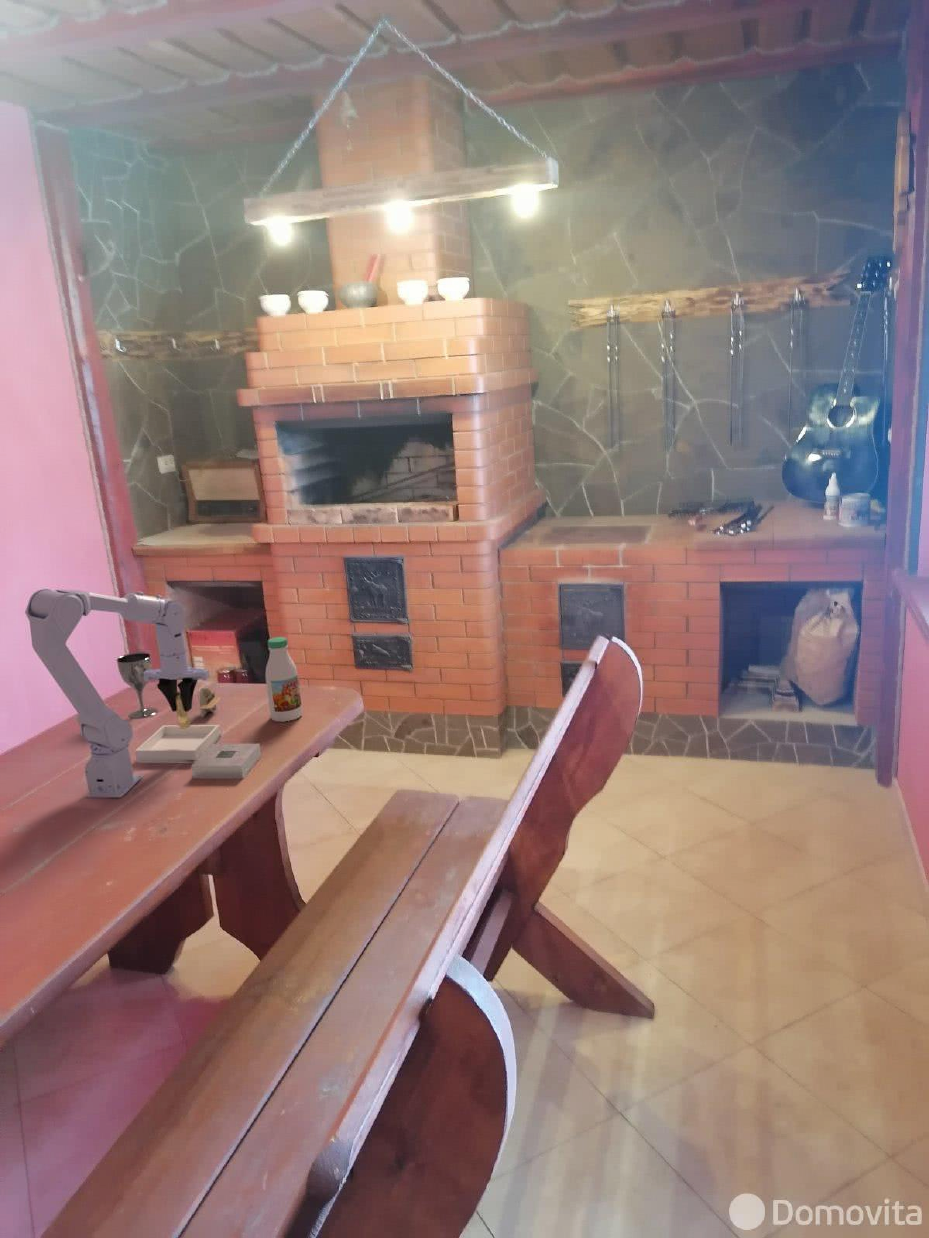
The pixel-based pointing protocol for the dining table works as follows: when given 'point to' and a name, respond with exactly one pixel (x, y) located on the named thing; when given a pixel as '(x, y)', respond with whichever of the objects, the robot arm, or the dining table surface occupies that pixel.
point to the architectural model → (207, 700)
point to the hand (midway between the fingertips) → (182, 709)
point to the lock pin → (181, 712)
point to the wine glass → (136, 678)
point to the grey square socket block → (226, 761)
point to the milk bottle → (282, 682)
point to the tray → (177, 744)
